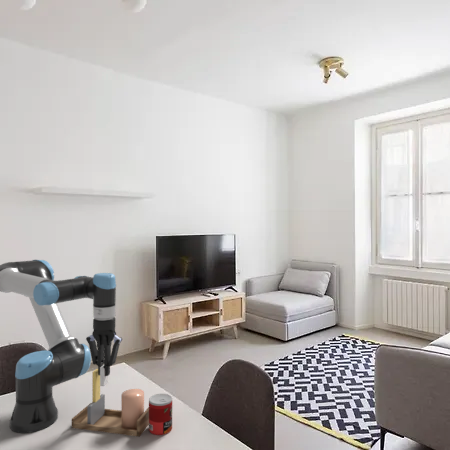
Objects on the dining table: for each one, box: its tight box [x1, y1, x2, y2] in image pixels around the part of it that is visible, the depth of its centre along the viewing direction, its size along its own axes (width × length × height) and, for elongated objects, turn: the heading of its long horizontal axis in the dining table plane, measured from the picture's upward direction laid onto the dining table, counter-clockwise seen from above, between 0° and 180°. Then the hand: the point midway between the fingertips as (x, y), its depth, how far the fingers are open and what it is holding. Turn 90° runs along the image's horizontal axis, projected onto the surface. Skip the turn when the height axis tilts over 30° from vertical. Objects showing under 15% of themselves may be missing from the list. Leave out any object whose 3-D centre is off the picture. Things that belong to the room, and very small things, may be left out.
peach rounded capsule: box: [120, 388, 145, 430], centre depth 130 cm, size 8×8×11 cm
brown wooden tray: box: [71, 402, 149, 438], centre depth 131 cm, size 25×12×6 cm, turn 78°
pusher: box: [86, 368, 106, 425], centre depth 133 cm, size 1×9×18 cm, turn 168°
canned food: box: [148, 393, 173, 436], centre depth 128 cm, size 8×8×11 cm
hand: (103, 384), depth 132 cm, fingers closed
